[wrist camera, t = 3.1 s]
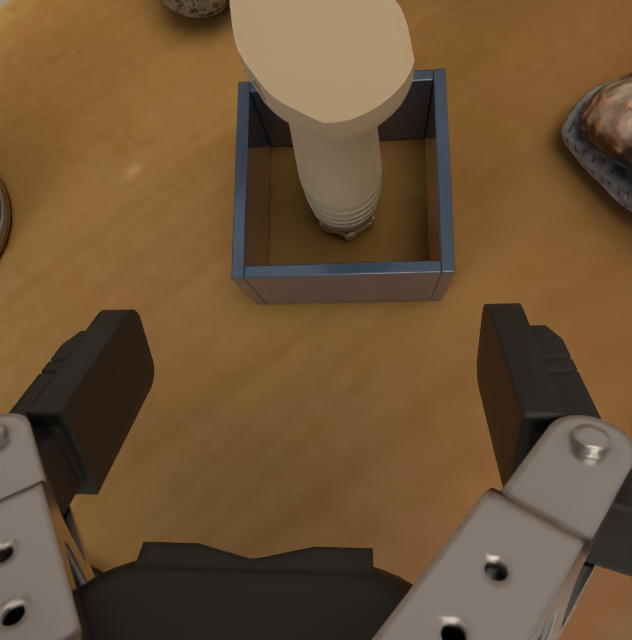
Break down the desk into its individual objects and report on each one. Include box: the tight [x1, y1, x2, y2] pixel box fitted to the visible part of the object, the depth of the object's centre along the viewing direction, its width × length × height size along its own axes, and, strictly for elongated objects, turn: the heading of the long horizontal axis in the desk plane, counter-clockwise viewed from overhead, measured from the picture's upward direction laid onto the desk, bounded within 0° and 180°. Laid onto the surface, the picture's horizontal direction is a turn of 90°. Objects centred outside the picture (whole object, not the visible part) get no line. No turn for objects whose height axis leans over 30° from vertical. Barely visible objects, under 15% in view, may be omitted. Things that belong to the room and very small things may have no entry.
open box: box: [232, 69, 455, 304], centre depth 29 cm, size 10×10×6 cm
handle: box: [229, 0, 415, 241], centre depth 24 cm, size 5×6×15 cm
